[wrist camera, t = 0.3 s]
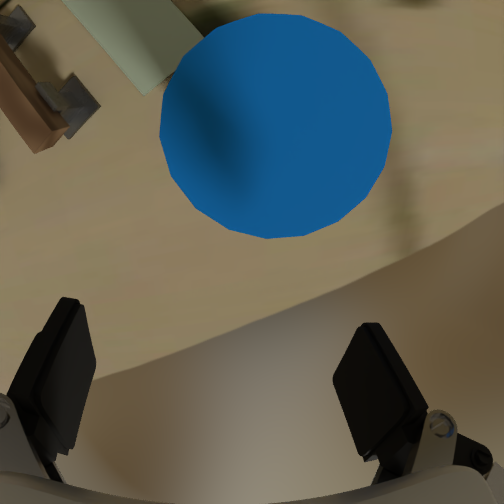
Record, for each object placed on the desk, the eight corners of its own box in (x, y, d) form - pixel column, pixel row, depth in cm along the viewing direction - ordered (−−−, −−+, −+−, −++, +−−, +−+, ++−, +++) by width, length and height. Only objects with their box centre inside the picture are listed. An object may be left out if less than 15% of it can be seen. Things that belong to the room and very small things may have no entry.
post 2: (76, 76, 28) (36, 73, 20) (101, 106, 31) (65, 111, 22) (46, 108, 30) (3, 116, 21) (70, 138, 32) (31, 153, 24)
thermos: (185, 140, 35) (131, 211, 13) (210, 58, 30) (199, -18, 8) (269, 162, 37) (345, 262, 15) (296, 85, 33) (421, 73, 11)
